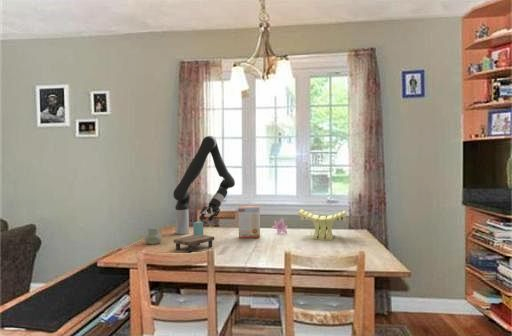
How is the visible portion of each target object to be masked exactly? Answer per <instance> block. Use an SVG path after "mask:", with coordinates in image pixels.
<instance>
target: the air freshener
mask: <svg viewBox="0 0 512 336" xmlns="http://www.w3.org/2000/svg"><path fill="white" fill-rule="evenodd" d="M147 231H148V234H146V236H145V237H144V242H145V243H147V244H148V245H151V244H154V245H158V244H159V243H161V242H162V240H163V237H162V235H161V234H159V228H158V227H156V226H152V227H151V226H150V227H148V230H147Z"/></svg>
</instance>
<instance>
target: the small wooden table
mask: <svg viewBox="0 0 512 336" xmlns="http://www.w3.org/2000/svg"><path fill="white" fill-rule="evenodd" d="M213 241H215V236H212V235H206V234H203V235H201V234H197V235H194V234H192V235H189V236H183V237H179V238H175V239H173V244H175V250H176V251H177V250H179V249H180V250H181V246H186V247H187V246H188V247H187V249H188V250H187V252H188V253H191V252H190V251H192V252H193V246H195V245H196V246H197V245H198V246H200V245H201V244H203V243H204V244H205V243H208V245H207V247H208V248H213Z"/></svg>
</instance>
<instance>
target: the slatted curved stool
mask: <svg viewBox="0 0 512 336" xmlns="http://www.w3.org/2000/svg"><path fill="white" fill-rule="evenodd" d="M297 213H298V217H300V221H304V220H309V221H311V222H312V223H313V225H314V230H315V231H314V233H313V235H312V237H311V240H330V241H332V240H333V237H334V235H333V224H334V223H335V222H337V221H343V222H347V210H346V209H344V210H343V211H340V212H338V213H335V214H331V215H330V214H329V215H319V214H313V213H312V212H309V211H307V210H306V211H305V209H303V208H300V209H299V210H298V212H297Z"/></svg>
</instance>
